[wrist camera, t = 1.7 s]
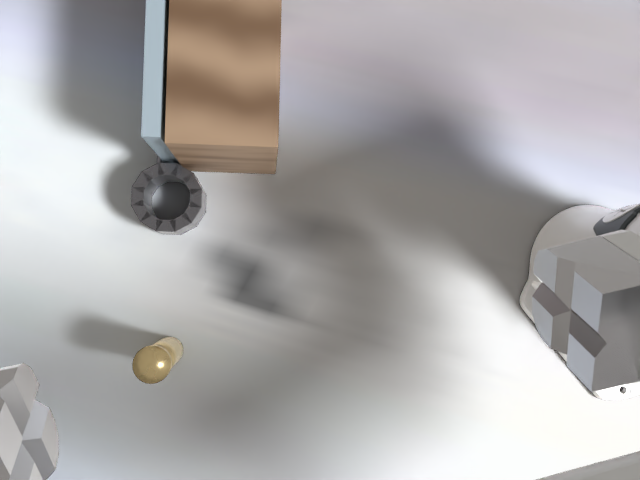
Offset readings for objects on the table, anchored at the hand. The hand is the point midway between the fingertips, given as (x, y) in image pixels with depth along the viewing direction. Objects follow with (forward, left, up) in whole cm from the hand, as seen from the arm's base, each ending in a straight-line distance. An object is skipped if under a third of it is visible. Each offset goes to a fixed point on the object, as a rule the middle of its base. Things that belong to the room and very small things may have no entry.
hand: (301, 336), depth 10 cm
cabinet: (+22, -8, -56) cm, 61 cm away
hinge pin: (-1, +13, -56) cm, 58 cm away
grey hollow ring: (+14, +4, -56) cm, 58 cm away
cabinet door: (+26, -2, -56) cm, 62 cm away
